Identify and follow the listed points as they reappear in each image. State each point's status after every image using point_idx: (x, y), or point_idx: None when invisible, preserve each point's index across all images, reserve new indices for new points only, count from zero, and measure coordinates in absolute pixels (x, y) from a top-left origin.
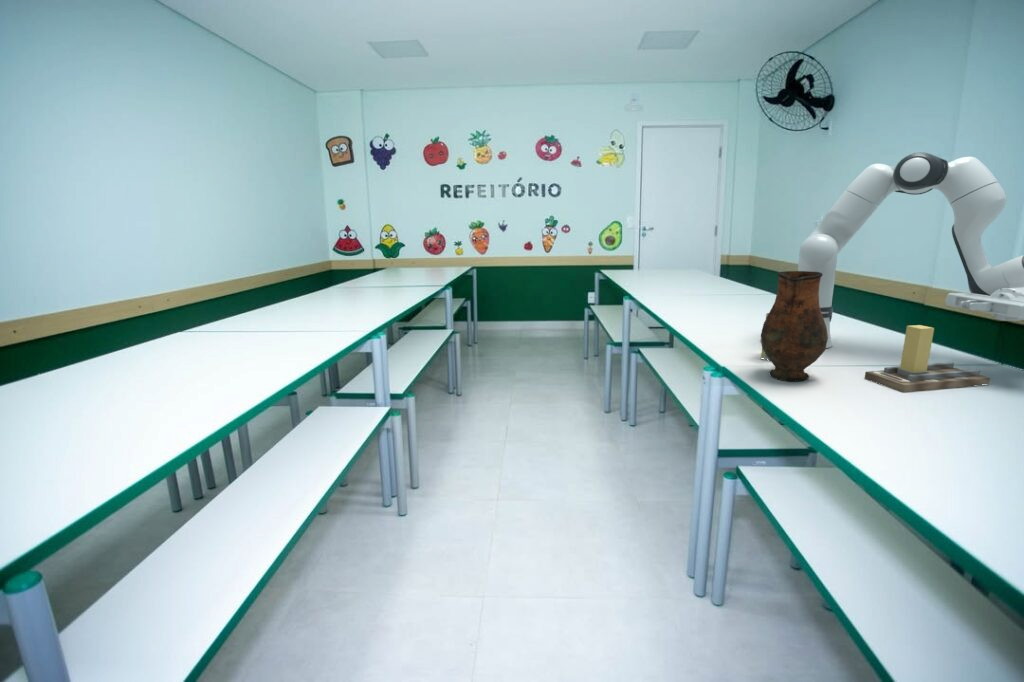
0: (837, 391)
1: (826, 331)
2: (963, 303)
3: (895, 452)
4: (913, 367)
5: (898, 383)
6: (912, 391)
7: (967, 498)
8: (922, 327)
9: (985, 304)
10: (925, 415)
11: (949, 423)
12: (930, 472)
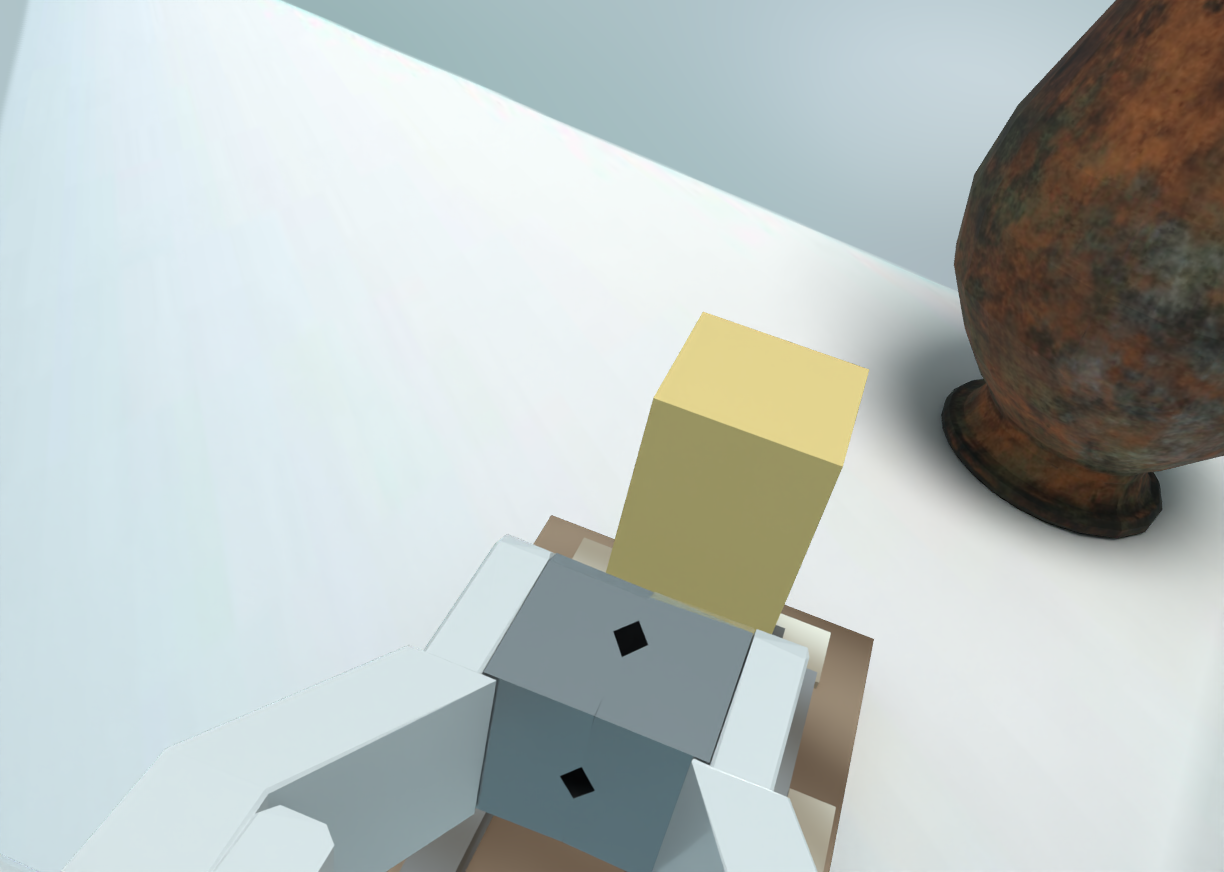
0: None
1: (1059, 193)
2: (721, 623)
3: (310, 90)
4: None
5: (594, 534)
6: None
7: (121, 6)
8: (739, 371)
9: (221, 747)
10: (327, 325)
11: (223, 296)
12: (209, 50)
